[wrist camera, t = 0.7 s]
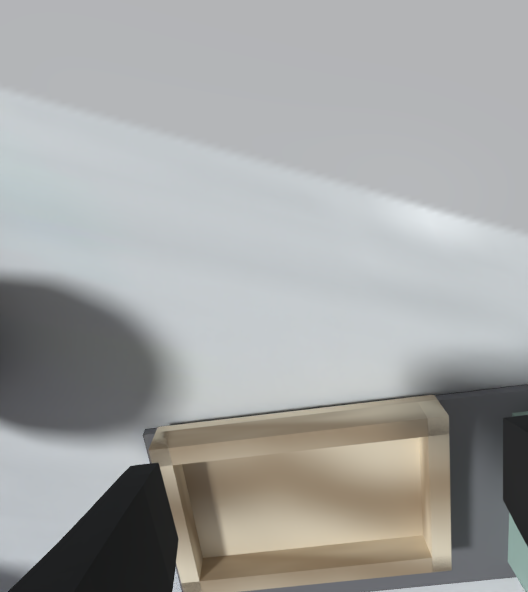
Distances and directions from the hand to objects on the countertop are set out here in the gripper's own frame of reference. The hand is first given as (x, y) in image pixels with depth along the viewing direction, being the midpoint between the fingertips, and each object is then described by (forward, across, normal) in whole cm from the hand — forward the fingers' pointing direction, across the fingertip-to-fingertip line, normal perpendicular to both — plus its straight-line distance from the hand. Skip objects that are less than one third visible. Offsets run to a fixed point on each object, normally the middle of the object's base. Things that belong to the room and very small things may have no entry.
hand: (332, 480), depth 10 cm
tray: (+9, +1, +7) cm, 12 cm away
